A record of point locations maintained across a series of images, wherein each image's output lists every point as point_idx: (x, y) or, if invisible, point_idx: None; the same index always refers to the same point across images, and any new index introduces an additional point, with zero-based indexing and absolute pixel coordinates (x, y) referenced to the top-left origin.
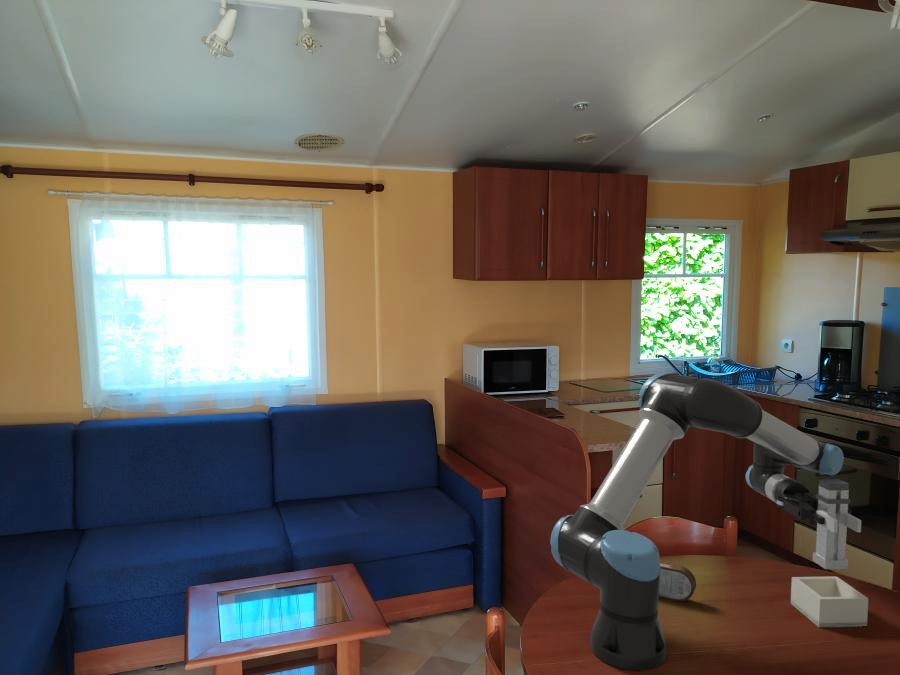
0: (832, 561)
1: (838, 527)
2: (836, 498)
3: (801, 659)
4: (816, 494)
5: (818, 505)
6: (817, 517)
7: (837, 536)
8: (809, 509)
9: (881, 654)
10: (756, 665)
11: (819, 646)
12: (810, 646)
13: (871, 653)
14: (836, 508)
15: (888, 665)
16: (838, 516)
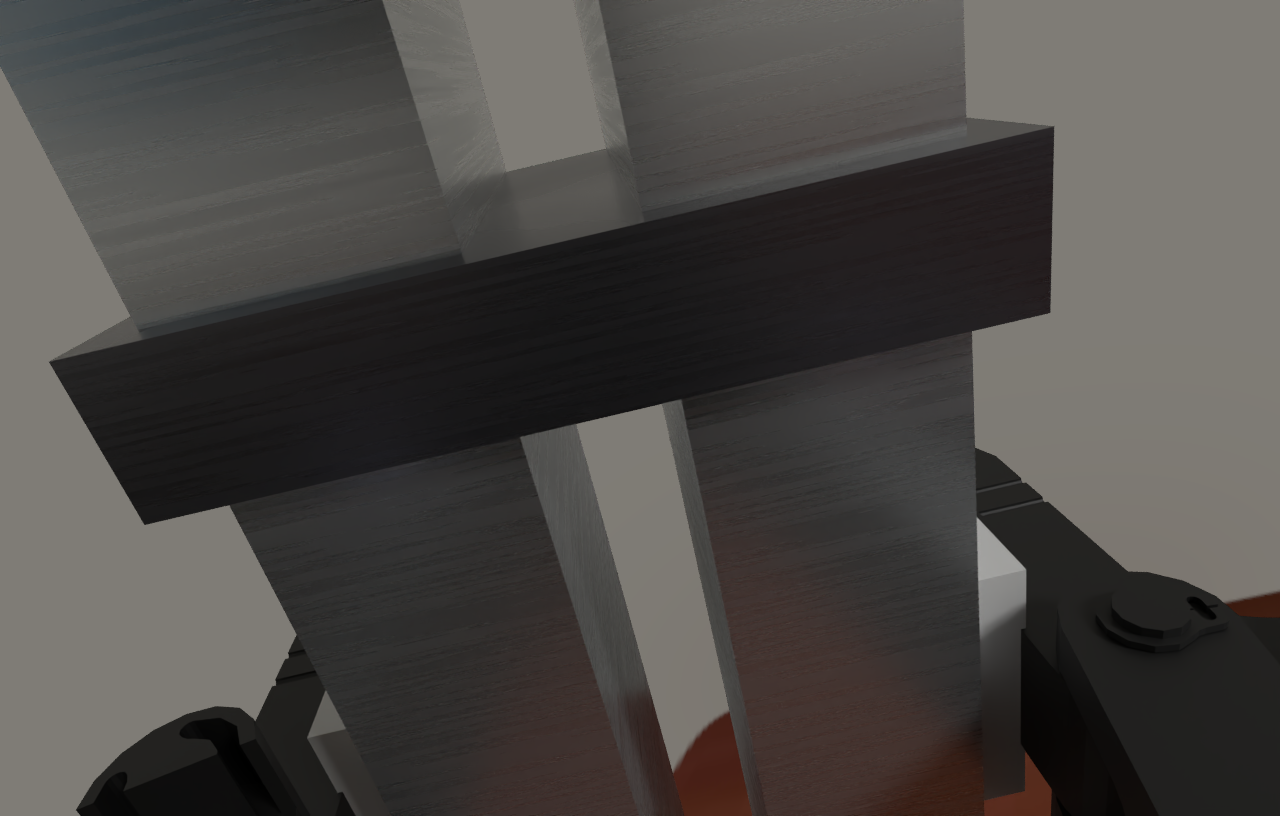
0: None
1: (646, 688)
2: (571, 165)
3: None
4: (1052, 167)
5: (965, 521)
6: (1011, 483)
7: (680, 806)
8: (1253, 660)
9: (703, 798)
10: (1275, 603)
11: (993, 808)
12: (1042, 798)
13: (746, 797)
14: (572, 461)
15: (717, 720)
16: (604, 544)
